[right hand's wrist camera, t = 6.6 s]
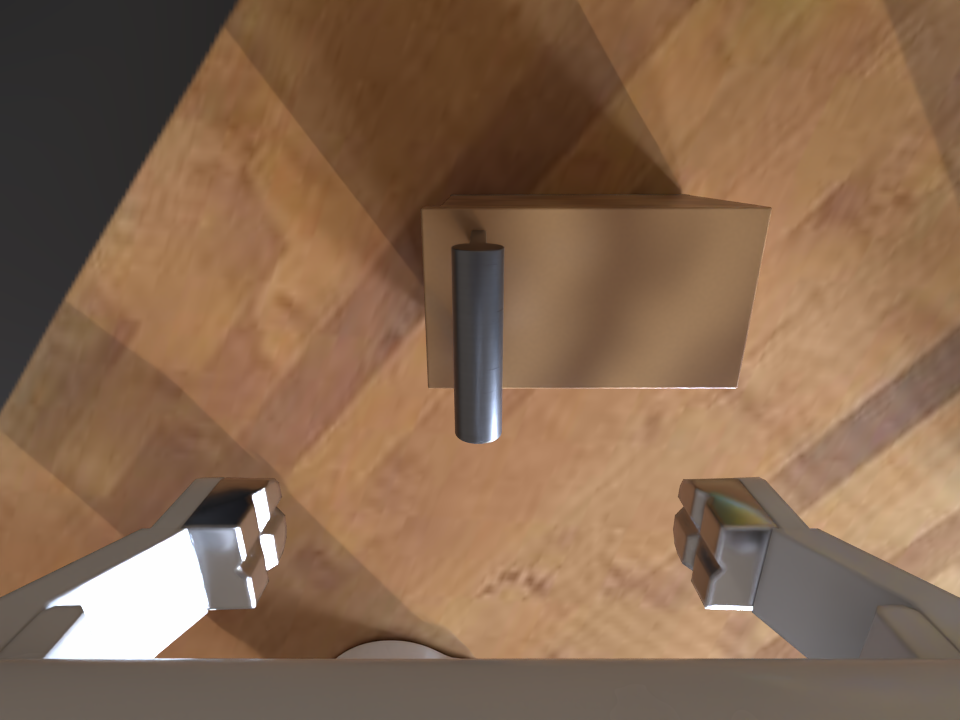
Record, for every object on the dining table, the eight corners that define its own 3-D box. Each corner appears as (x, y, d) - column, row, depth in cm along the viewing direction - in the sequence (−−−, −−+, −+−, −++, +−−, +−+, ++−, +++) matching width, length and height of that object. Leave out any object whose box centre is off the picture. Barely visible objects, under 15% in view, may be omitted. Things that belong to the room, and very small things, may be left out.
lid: (430, 380, 28) (410, 463, 20) (423, 205, 25) (396, 224, 17) (727, 379, 28) (822, 463, 20) (759, 205, 25) (888, 223, 17)
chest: (454, 327, 37) (445, 379, 28) (451, 194, 34) (440, 205, 25) (667, 327, 37) (726, 379, 28) (684, 194, 34) (759, 204, 25)
